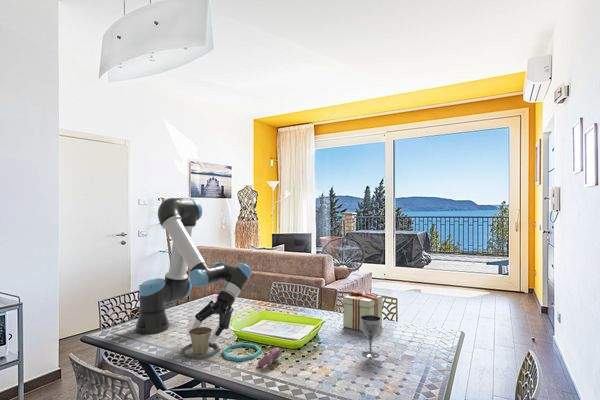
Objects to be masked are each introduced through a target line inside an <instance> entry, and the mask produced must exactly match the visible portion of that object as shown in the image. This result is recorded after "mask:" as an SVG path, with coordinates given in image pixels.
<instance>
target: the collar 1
mask: <svg viewBox="0 0 600 400" xmlns="http://www.w3.org/2000/svg"><path fill="white" fill-rule="evenodd" d="M209 347H214V348H215V350H213V351H211V352H210V353H204V354H195V355H194V354H189V353H185V351H187V350H189V349H190V348H192V343H189V344H186V346H184V347H182V348H181V349H180V350H181V351H180V353H181V355H182V357H183V359H185V358H186V359H190V360H202V359H207V358H213V357H214V356H215V355H216V354H218V353H220V350H221V349H220V346H219V345H218V343H217V342H214V344H211V343H210V342H209Z"/></svg>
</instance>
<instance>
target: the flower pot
mask: <svg viewBox="0 0 600 400" xmlns="http://www.w3.org/2000/svg"><path fill="white" fill-rule="evenodd" d="M190 329H191V328H190ZM188 332H189V333H188V335H189V337H190V340H191V343H192V347H191V349H192V354H193V355H194V354H195V355H203V354H207V353H208V351H209V348H210V346H209V341H208V340H209V338H210V337H211V335H212V333H213V329H212V328H211V327H207V326H200V327H197V328H193V329H191V330H188ZM191 343H190V344H191Z"/></svg>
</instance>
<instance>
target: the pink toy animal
mask: <svg viewBox="0 0 600 400" xmlns="http://www.w3.org/2000/svg"><path fill="white" fill-rule="evenodd" d="M282 354H283V350H282V349H281V348H279V347H277V346H276V347H275V348H271V349H269V351H268V352H267V353H265V355H264V356H263V357H262V358H261V359H259V360H258V361H257V366H258V367H260V368H262V367H264V366H265V367H266V365H267V366H271V365H272V363H276V362H277V360H278V359H279V358H280V356H281V355H282Z"/></svg>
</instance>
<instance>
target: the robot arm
mask: <svg viewBox="0 0 600 400" xmlns="http://www.w3.org/2000/svg"><path fill="white" fill-rule="evenodd" d="M202 215H203V208H202V204H201V203H200V201H198V200H197V199H196V198H189V197H170V198H167V199H165V200H163V201H162V202H161V203H160V204H159V207H158V210H157V218H158V222H159V224H160V226H161V228H162V229H164V230H166V231H167V233H168V235H169V236H170V238H171V240H172V244H171V253H170V261H169V268H168V271H167V272H166V273H165V274H164V278H162V277H161V278H160V277H159V278H151V279H147V280H145V281H143V282H142V283H141V284H140V285H139V292H138V293H139V314H138V319H137V321H136V324H135V332H136V333H138V334H142V335H143V334H144V335H150V334H158V333H162V332H164V331H166V330H168V329H169V327H170V322H169V319H168V315H167V313H166V304H171V303H173V302H178V301H181V300H183V299H186V298H187V297H188V296H190V294H191V292H192V288H193V286H194V287H195V288H196V287H197V288H198V287H205V286H207V285H212V284H215V283H220V282H225V284H224V285H223V287H222V288H221V290H220V291H219V293H218V295H217V296H216V301H215V302H214V301H213V300H210V301H208V304H207V305H206V306H204V307H203V308H202V309H201V310H200V311H198V312H197V313H196V314H195V315H194V317H195V321H194V323H192V327H190V330H191V329H193V328H197V327H201V326H202V324H203V323H202V322H203V321H204V320H206V319H208V318H209V317H211V316H213V315H218V319H219V320H218V321H219V322H218V325H217V326H216V327H215V329H214V330H213V331H212V332H211V335H210V338H209V340H208V341H209V342H210V343H211V344H214V343H216V340H217V338H218V337H220V335H221V334H222V332H223V331H224V330H228V329H229V327H230V323H231V318H232V315H233V311H234V310H235V309H234V307H233V304H234V303H235V301H236V299H237V298H238V296H239V295H240V293H241V291H242V289H243V288H244V286H245V285H246V284H247V282H248V281H249V279H250V277H251V275H252V273H253V270H252V267H250V266H249V265H247V264H246V263H242V262H240V263H238V264H237V265H236V266H233V265H230V264H226V263H223V262H218V261H217V262H214V263H213V264H212V265H211V266H209V265H208V264H207V263H206V261H205V259H204V258H203V256H202V254H201V252H200V251H199V249H198V248H197V245H196V244H195V242H194V241H193V239H192V232H193V228H194V227H196V225H197V221H199V220H200V219H201V218H202ZM187 269H189V271H190V273H189V274H188V273H187ZM190 330H189V331H190ZM189 331H188V332H187V333H188V334H189Z"/></svg>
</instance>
